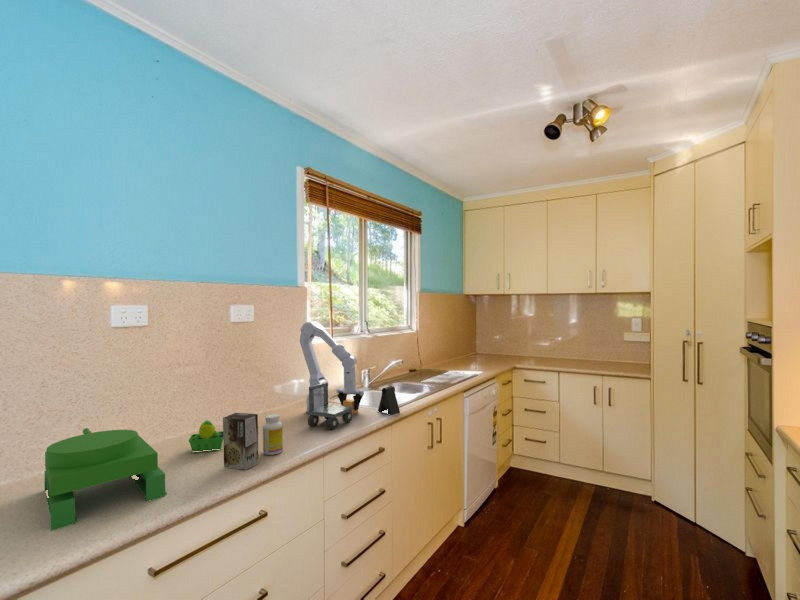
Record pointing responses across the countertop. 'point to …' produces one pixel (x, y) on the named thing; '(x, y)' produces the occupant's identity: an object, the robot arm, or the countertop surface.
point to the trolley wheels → (329, 420)
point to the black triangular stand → (389, 401)
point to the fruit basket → (206, 438)
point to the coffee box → (240, 440)
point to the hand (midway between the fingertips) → (350, 409)
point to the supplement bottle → (272, 435)
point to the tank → (97, 468)
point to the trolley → (325, 404)
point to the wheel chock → (350, 405)
